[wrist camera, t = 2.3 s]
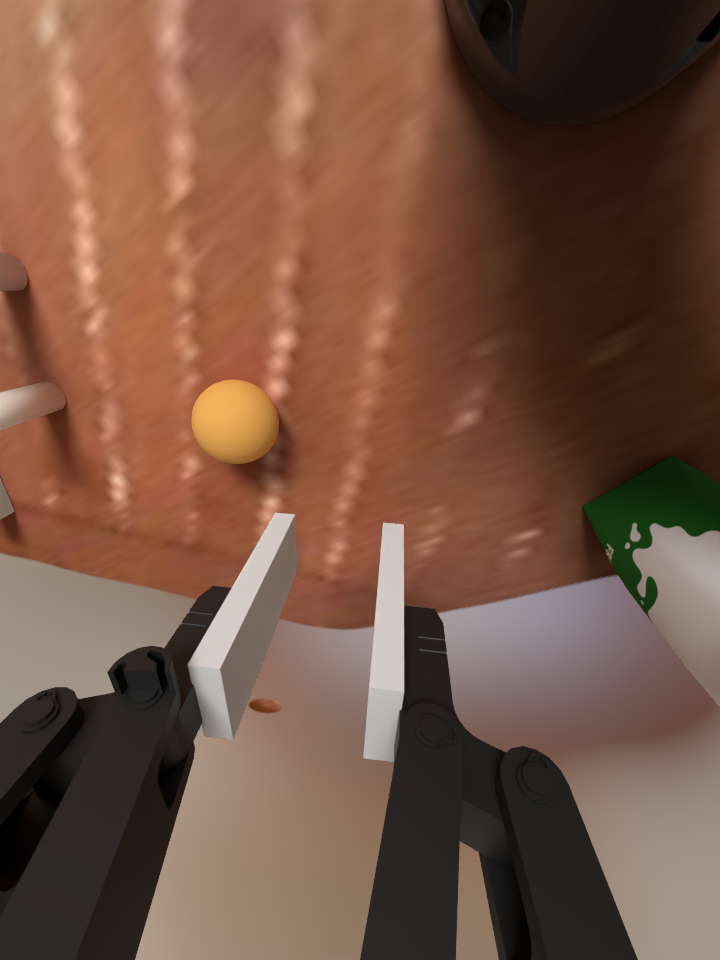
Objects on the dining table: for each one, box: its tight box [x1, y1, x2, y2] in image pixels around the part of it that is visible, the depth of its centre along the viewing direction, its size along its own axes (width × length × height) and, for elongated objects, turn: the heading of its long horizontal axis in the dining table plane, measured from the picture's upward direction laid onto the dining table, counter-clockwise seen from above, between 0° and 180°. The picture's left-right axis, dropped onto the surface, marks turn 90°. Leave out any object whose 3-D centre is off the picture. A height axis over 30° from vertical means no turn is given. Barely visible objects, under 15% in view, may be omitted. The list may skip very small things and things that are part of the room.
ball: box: [192, 380, 279, 464], centre depth 27 cm, size 6×6×6 cm
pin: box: [0, 381, 66, 430], centre depth 27 cm, size 2×2×8 cm
